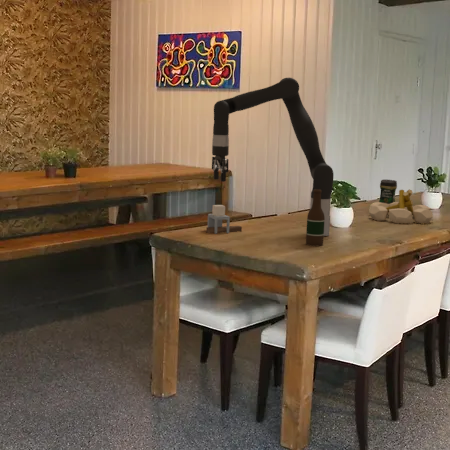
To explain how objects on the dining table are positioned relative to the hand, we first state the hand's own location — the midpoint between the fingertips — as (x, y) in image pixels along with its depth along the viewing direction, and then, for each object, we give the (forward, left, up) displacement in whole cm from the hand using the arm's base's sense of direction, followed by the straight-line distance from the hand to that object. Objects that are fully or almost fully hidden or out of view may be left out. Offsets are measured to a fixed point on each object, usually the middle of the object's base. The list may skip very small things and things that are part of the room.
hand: (219, 180), depth 314 cm
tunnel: (0, 0, -24) cm, 24 cm away
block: (0, 0, -16) cm, 16 cm away
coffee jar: (+41, -125, -24) cm, 134 cm away
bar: (-1, -3, -24) cm, 24 cm away
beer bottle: (-37, -30, -24) cm, 54 cm away
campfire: (+14, -114, -25) cm, 117 cm away
